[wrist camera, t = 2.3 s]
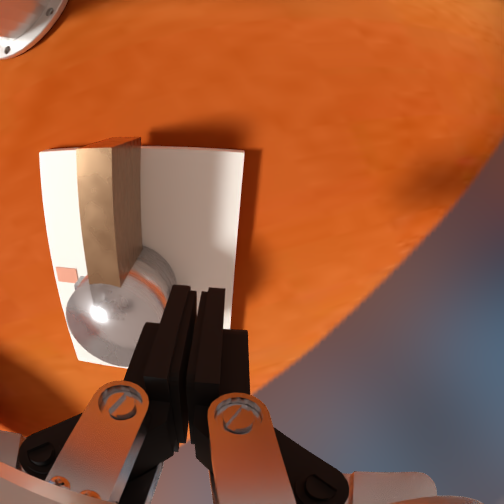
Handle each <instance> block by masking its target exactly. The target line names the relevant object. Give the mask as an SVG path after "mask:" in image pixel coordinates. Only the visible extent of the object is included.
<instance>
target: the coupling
mask: <svg viewBox="0 0 504 504" xmlns="http://www.w3.org/2000/svg"><path fill="white" fill-rule="evenodd" d="M76 164H77V185H78V200H79V212H80V222H81V231H82V239H83V247H84V254H85V261H86V268H87V275H86V276H80V278H79V279H78V280H77V282H76V283H75V284H74V287H75V291H74V293H73V294H72V295H71V297H70V298H69V300H68V302H67V306H66V319H67V323H68V326H69V329H70V331H71V333H72V334H73V336H74V338H75V339H76V340H77V342H78V343H79V344H80V345H81V346H82V347H83V348H84V349H85V350H86V351H87V352H89V353H90V354H91V355H93V356H95V357H96V358H98V359H100V360H102V361H104V362H106V363H109V364H112V365H116V366H121V367H129V364H130V361H131V358H132V356H133V353H134V350H135V347H136V345H137V342H138V339H139V337H140V334H141V332H142V329H143V326H144V324H145V323H146V322H153V323H160V321H161V318H162V315H163V312H164V309H165V306H166V303H167V300H168V297H169V295H170V292H171V289H172V286H173V285H174V284H175V285H177V281H176V277H175V274H174V272H173V270H172V268H171V266H170V265H169V264H168V262H167V261H166V260H165V259H164V258H163V257H162V256H161V255H160V254H159V253H157V252H156V251H154V250H152V249H150V248H149V247H146V246H143V245H142V228H141V185H140V170H141V137H115V138H109V139H105V140H102V141H99V142H96V143H92V144H89V145H86V146H83V147H80V148H77V149H76ZM187 286H188V285H187Z"/></svg>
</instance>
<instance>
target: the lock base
mask: <svg viewBox="0 0 504 504" xmlns="http://www.w3.org/2000/svg"><path fill="white" fill-rule="evenodd" d="M78 148H80V147H78ZM76 149H77V148H61V149H48V150H45V151H42V152H39V155H40V173H41V186H42V197H43V206H44V214H45V222H46V229H47V235H48V242H49V247H50V253H51V258H52V264H53V269H54V273H55V278H56V283H57V287H58V291H59V295H60V299H61V303H62V307H63V311H64V315H65V318H66V306H67V302H68V300H69V298H70V297H71V295H72V294H73V293H74V291H75V287H74V284H75V283H76V282H77V280H78V279H79V278H80V276H86V275H87V268H86V261H85V254H84V247H83V239H82V231H81V222H80V212H79V200H78V185H77V164H76ZM244 154H245V152H244V150H233V149H218V148H200V147H173V146H141V170H140V185H141V228H142V245H143V246H146V247H149V248H150V249H152V250H154V251H156V252H157V253H159V254H160V255H161V256H162V257H163V258H164V259H165V260H166V261H167V262H168V264H169V265H170V266H171V268H172V270H173V272H174V274H175V277H176V281H177V285H188V286H190V287H191V290H193V291H197V313H198V307H199V302H200V297H201V292H202V291H206V292H208V288H209V287H212V288H226V290H225V307H224V324H223V329H230V324H231V310H232V297H233V284H234V271H235V258H236V246H237V234H238V222H239V210H240V199H241V187H242V176H243V165H244ZM66 322H67V319H66ZM67 325H68V323H67ZM68 329H69V326H68ZM69 332H70V335H71V339H72V342H73V345H74V348H75V351H76V354H77V357H78V360H81V361H86V362H91V363H97V364H103V365H109V366H115V367H121V366H116V365H112V364H109V363H106V362H104V361H102V360H100V359H98V358H96V357H95V356H93V355H91V354H90V353H89V352H87V351H86V350H85V349H84V348H83V347H82V346H81V345H80V344H79V343H78V342H77V340H76V339H75V338H74V336H73V334H72V333H71V331H70V329H69ZM121 368H128V367H121Z"/></svg>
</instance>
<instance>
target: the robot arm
mask: <svg viewBox="0 0 504 504" xmlns="http://www.w3.org/2000/svg"><path fill="white" fill-rule="evenodd" d="M67 2H68V0H0V59H9V58H13V57H16V56H18V55H20V54H22V53H24V52H25V51H27V50H28V49H30V48H31V47H33V46H34V45H35V44H36V43H37V42H38V41H39V40H40V39H42V37H43V36H44V35H45V34H46V33H47V32H48V31H49V30H50V29H51V27H52V26H53V25H54V23H55V22H56V21H57V19H58V18H59V16H60V14H61V13H62V11H63V10H64V8H65V6H66V4H67ZM225 290H226V288H212V287H209V288H208V292H206V291H202V292H201V297H200V302H199V307H198V313H197V291H193V290H191V287H190V286H187V285H175V284H174V285H173V286H172V289H171V292H170V295H169V297H168V300H167V303H166V306H165V309H164V312H163V315H162V318H161V321H160V323H153V322H146V323H145V324H144V326H143V329H142V332H141V334H140V337H139V339H138V342H137V345H136V347H135V350H134V353H133V356H132V358H131V361H130V364H129V367H128V369H127V372H126V375H125V378H124V381H113V382H110V383H107V384H105V385H103V386H102V387H100V388H99V389H98V390H97V392H96V393H95V394H94V396H93V397H92V399H91V401H90V402H89V404H88V405H87V407H86V409H85V410H84V412H83V413H81V414H79V415H77V416H74V417H72V418H70V419H67V420H65V421H63V422H61V423H58V424H56V425H54V426H51V427H49V428H46V429H44V430H42V431H39V432H37V433H34V434H32V435H31V436H29V437H27V438H26V437H23V436H22V434H19V433H12V432H7V431H1V430H0V504H151V501H152V498H153V495H154V492H155V489H156V486H157V483H158V480H159V477H160V474H161V472H162V469H163V464H164V461H165V460H166V459H168V458H170V457H171V456H173V454H174V451H175V452H178V450H179V443H186V439H187V431H188V422H189V428H190V438H191V444H195V450H196V458H197V459H198V460H199V461H200V462H201V463H202V464H203V465H204V466H205V467H206V468H208V469H209V478H210V485H211V492H212V499H213V504H483V503H481V502H479V501H477V500H474V499H471V498H466V497H460V496H437V492H436V487H435V483H434V481H433V480H432V479H431V478H430V477H429V476H427V475H426V474H424V473H419V472H390V473H389V472H357V471H354V472H353V473H352V474H342V473H341V472H340V471H338V470H337V469H336V468H334V467H333V466H331V465H329V464H328V463H326V462H324V461H323V460H321V459H320V458H318V457H317V456H315V455H314V454H312V453H311V452H309V451H307V450H306V449H304V448H303V447H301V446H300V445H299V444H297V443H295V442H294V441H292V440H291V439H290V438H288V437H287V436H285V435H284V434H283V433H281V432H280V431H278V430H277V429H276V428H274V427H273V425H272V421H271V418H270V414H269V411H268V410H267V408H266V406H265V405H264V404H263V403H262V402H261V401H260V400H259V399H257V398H256V397H254V396H252V395H250V379H249V353H248V331H247V330H234V329H223V324H224V307H225Z"/></svg>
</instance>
